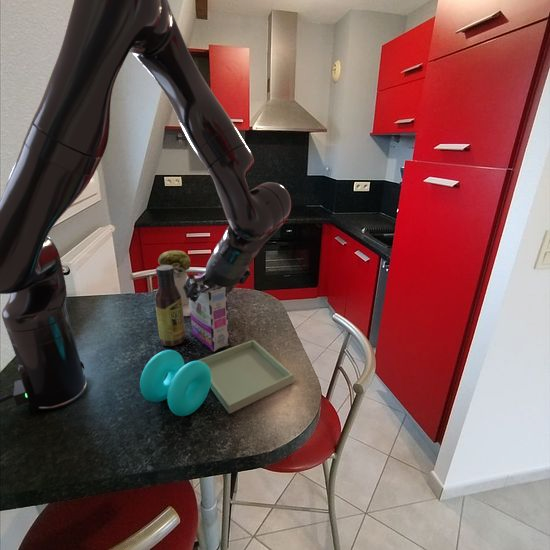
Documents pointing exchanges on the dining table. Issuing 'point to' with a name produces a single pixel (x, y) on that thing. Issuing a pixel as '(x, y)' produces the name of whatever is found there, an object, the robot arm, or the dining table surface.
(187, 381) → the turquoise spool
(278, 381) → the tray
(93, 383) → the dining table surface
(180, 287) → the green-topped white figurine
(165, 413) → the dining table surface
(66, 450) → the dining table surface
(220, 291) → the candy bar box
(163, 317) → the sauce bottle
